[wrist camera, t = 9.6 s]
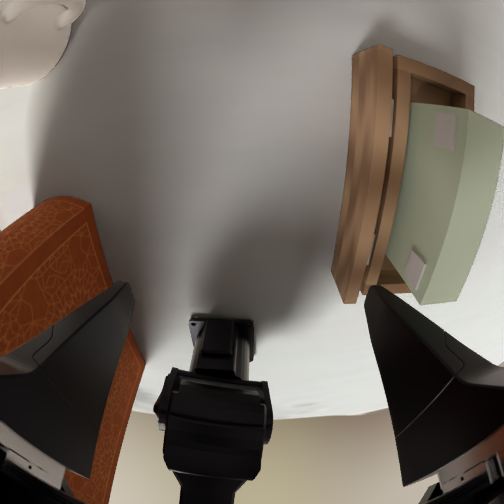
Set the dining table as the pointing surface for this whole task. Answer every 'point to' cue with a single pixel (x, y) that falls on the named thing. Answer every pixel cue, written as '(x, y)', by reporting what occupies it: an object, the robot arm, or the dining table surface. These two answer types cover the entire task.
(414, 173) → the pale green box
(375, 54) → the box
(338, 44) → the dining table surface
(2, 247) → the book
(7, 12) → the mug
